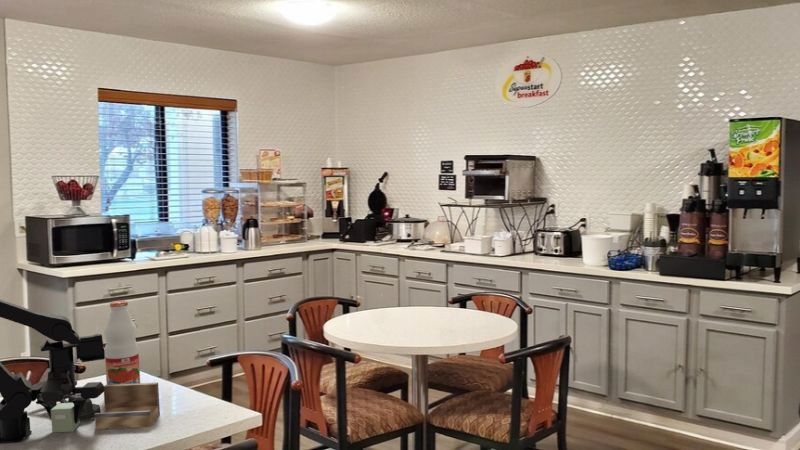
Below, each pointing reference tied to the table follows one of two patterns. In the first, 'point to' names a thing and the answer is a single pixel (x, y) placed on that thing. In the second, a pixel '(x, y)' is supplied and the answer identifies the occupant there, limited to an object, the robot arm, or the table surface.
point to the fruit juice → (121, 346)
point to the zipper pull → (88, 407)
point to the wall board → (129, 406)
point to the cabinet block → (63, 418)
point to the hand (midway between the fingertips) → (65, 423)
